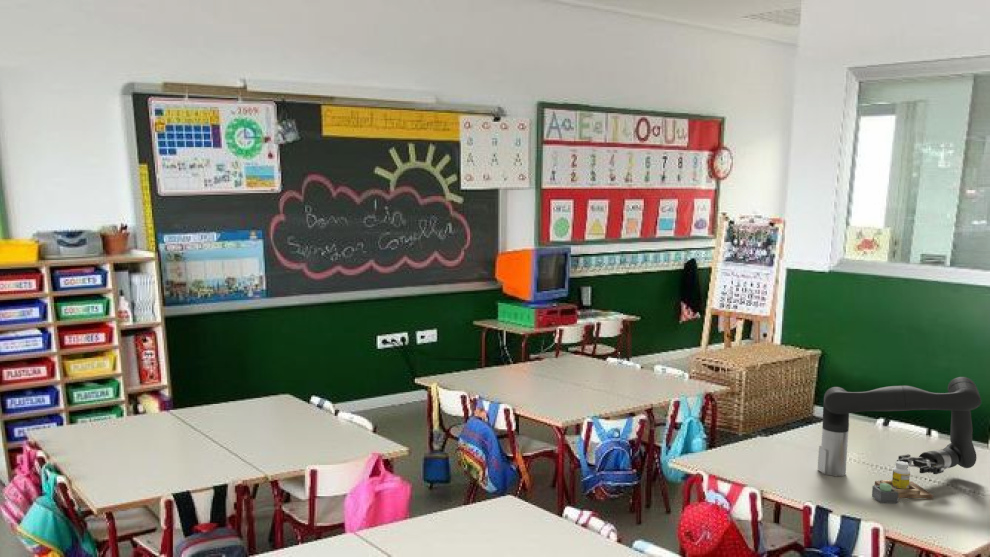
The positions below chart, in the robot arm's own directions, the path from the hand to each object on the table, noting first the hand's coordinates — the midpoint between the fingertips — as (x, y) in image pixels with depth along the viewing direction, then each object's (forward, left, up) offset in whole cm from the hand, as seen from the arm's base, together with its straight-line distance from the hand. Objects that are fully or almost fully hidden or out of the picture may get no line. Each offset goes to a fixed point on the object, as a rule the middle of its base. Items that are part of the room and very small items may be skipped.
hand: (908, 466), depth 269 cm
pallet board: (-1, 0, -9) cm, 10 cm away
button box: (-12, -8, -9) cm, 18 cm away
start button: (-12, -8, -7) cm, 16 cm away
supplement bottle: (-3, -1, -8) cm, 9 cm away
